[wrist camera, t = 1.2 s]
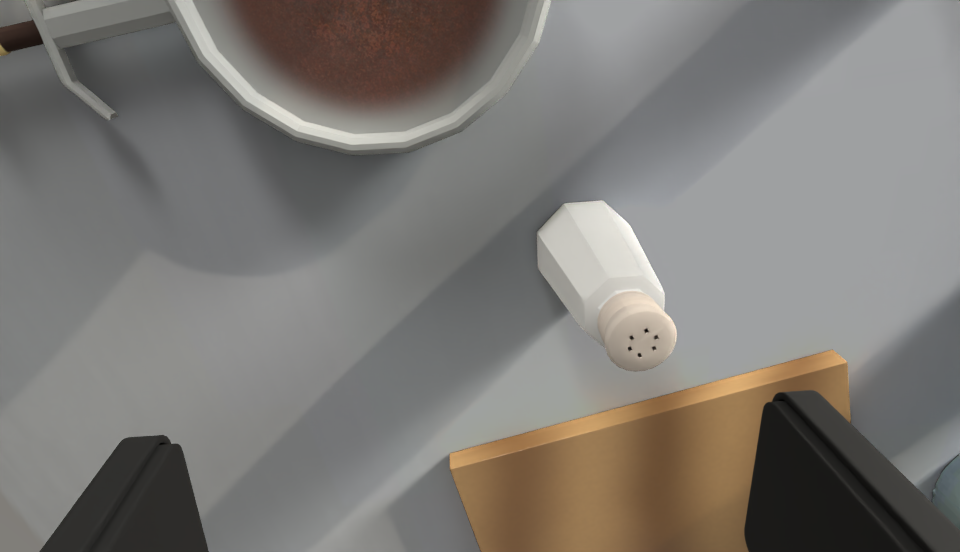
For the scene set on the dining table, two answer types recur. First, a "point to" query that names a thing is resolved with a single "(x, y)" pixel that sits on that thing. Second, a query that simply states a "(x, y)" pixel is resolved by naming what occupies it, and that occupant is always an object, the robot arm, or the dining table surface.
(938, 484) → the grey cylindrical pot
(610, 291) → the pepper shaker
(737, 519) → the cutting board
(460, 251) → the dining table surface
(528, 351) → the dining table surface
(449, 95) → the frying pan
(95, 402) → the dining table surface
